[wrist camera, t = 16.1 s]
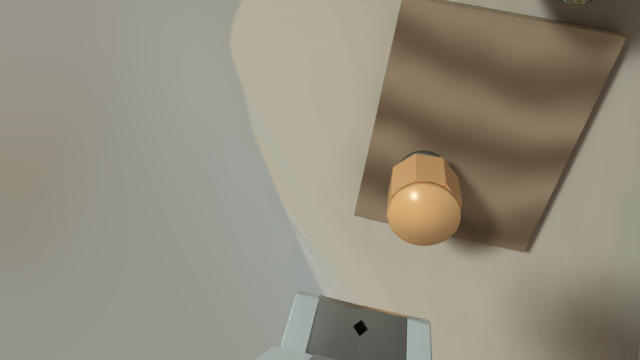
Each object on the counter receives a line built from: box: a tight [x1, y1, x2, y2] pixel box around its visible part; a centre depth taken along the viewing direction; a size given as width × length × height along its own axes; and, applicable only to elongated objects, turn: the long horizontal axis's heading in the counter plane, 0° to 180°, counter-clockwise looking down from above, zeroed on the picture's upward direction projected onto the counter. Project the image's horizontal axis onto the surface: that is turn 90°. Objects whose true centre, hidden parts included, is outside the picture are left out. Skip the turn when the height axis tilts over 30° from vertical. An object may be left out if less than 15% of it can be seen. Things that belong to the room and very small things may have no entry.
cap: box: [386, 153, 462, 246], centre depth 38 cm, size 5×5×5 cm
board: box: [355, 0, 627, 252], centre depth 40 cm, size 20×16×2 cm
